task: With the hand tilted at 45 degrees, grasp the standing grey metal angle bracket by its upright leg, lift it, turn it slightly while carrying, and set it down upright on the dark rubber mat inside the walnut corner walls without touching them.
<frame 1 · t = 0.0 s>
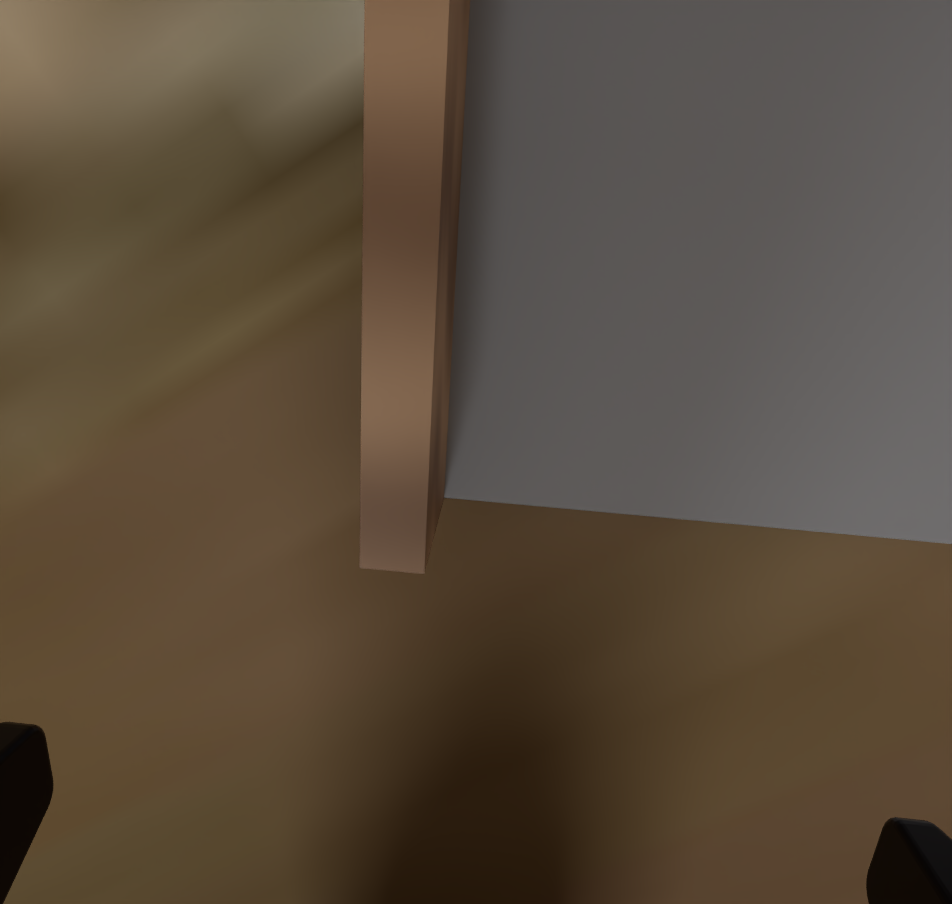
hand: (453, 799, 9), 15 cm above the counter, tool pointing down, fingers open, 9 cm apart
walls: (806, 230, 18), on the mat, point 3 cm above the counter
mat: (773, 212, 20), on the counter
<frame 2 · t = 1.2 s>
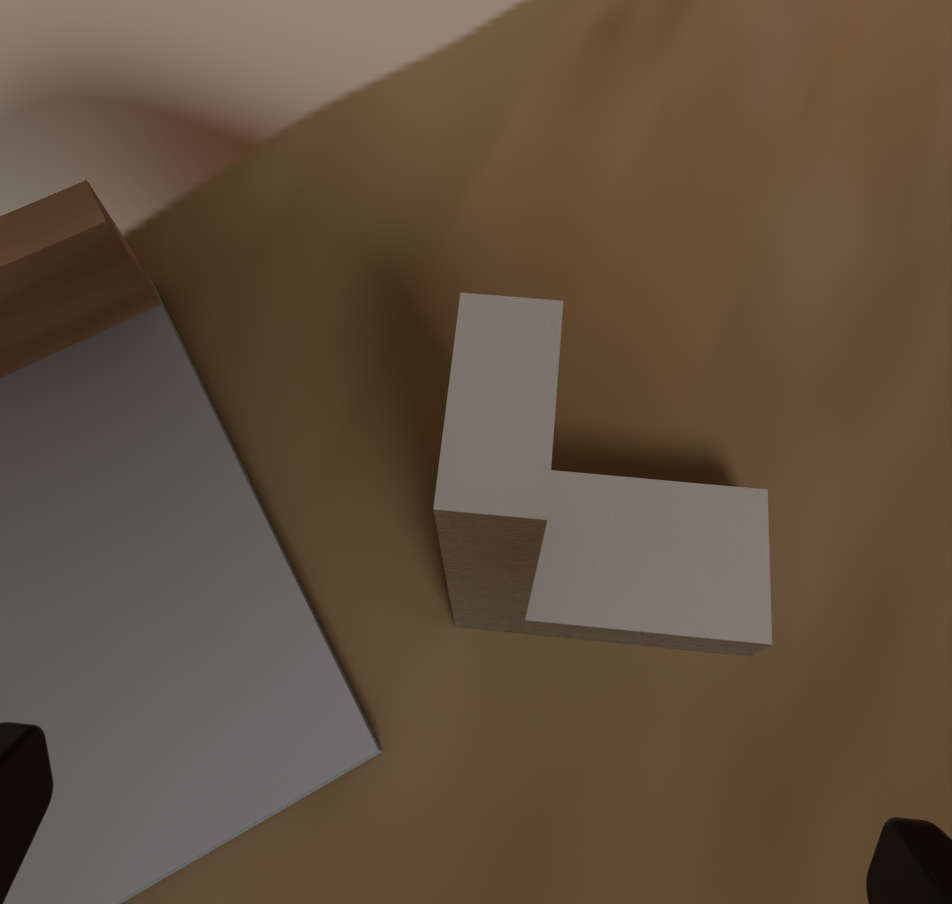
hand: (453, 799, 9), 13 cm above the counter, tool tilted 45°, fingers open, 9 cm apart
bracket: (495, 556, 23), on the counter
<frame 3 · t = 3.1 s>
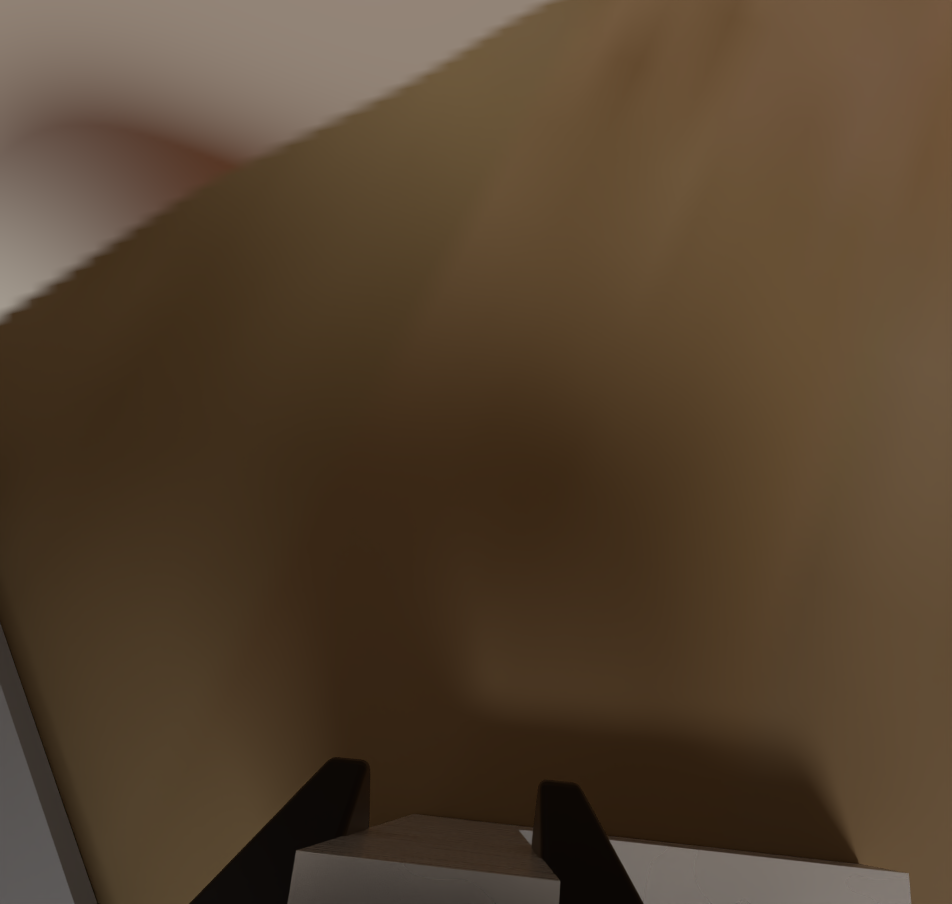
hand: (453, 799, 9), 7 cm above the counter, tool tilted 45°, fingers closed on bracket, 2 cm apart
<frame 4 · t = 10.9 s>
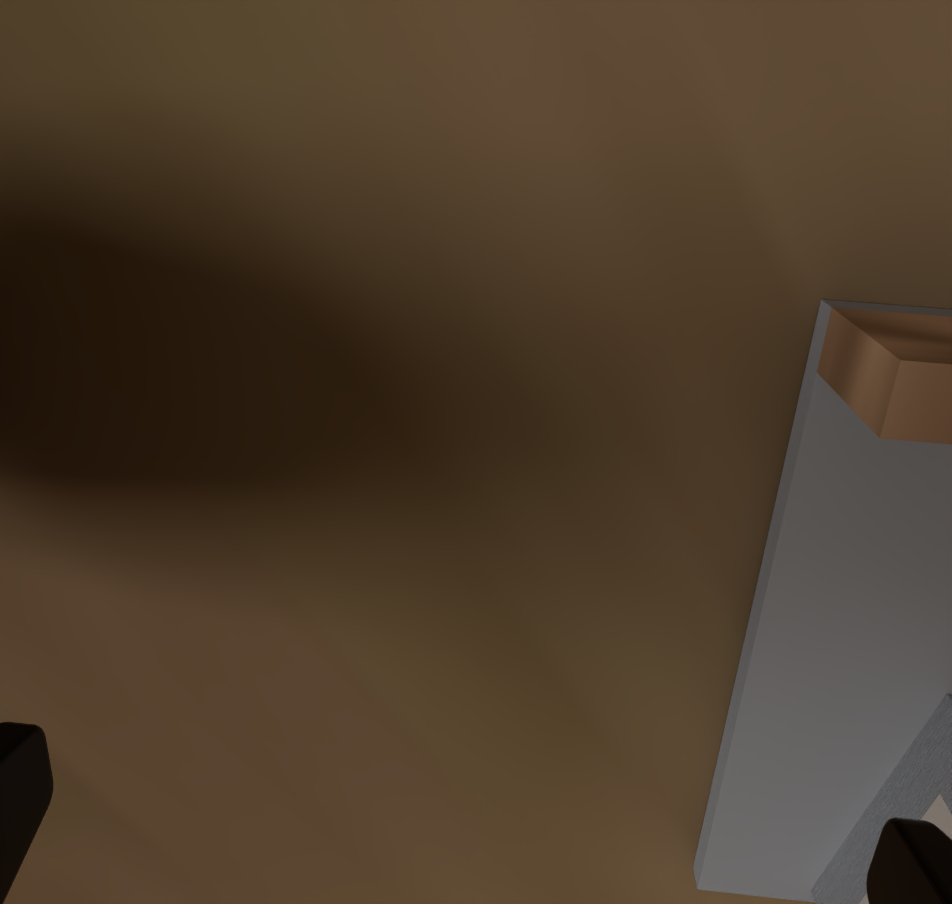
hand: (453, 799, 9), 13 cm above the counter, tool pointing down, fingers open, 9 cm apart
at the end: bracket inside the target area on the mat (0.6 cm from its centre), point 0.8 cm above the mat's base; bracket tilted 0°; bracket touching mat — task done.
